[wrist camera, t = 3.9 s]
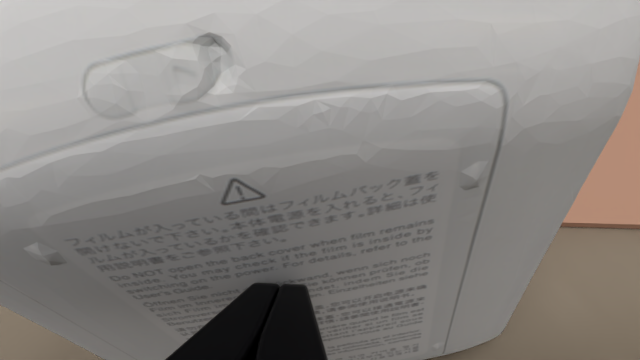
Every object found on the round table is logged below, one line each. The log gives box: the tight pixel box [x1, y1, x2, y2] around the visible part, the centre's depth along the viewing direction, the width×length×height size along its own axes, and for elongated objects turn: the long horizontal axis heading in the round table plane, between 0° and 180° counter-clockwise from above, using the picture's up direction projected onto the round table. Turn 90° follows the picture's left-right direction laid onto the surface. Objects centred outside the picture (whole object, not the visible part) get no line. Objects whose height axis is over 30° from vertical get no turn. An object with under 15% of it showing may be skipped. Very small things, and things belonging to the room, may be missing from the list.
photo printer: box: [0, 0, 640, 360], centre depth 10 cm, size 10×4×12 cm, turn 100°
